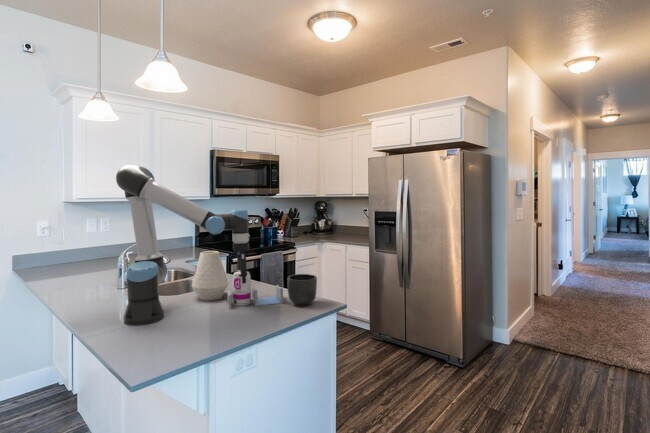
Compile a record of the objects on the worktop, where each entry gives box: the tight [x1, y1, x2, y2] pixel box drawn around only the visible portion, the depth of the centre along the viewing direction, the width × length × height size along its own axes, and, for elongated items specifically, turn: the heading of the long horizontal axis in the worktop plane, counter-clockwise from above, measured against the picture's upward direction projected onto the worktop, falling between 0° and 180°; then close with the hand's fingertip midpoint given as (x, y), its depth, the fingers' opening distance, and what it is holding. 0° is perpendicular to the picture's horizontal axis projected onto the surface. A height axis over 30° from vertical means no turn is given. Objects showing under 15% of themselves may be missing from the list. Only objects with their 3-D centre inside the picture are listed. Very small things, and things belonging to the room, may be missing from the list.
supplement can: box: [232, 270, 252, 307], centre depth 176 cm, size 8×8×15 cm
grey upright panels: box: [226, 284, 284, 310], centre depth 178 cm, size 25×12×7 cm, turn 108°
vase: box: [191, 250, 229, 302], centre depth 187 cm, size 17×17×23 cm
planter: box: [286, 273, 318, 307], centre depth 175 cm, size 14×14×13 cm
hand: (242, 286), depth 176 cm, fingers open, 13 cm apart
